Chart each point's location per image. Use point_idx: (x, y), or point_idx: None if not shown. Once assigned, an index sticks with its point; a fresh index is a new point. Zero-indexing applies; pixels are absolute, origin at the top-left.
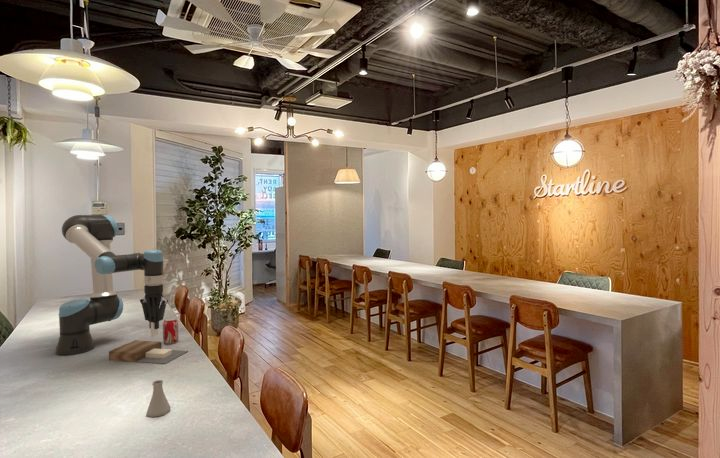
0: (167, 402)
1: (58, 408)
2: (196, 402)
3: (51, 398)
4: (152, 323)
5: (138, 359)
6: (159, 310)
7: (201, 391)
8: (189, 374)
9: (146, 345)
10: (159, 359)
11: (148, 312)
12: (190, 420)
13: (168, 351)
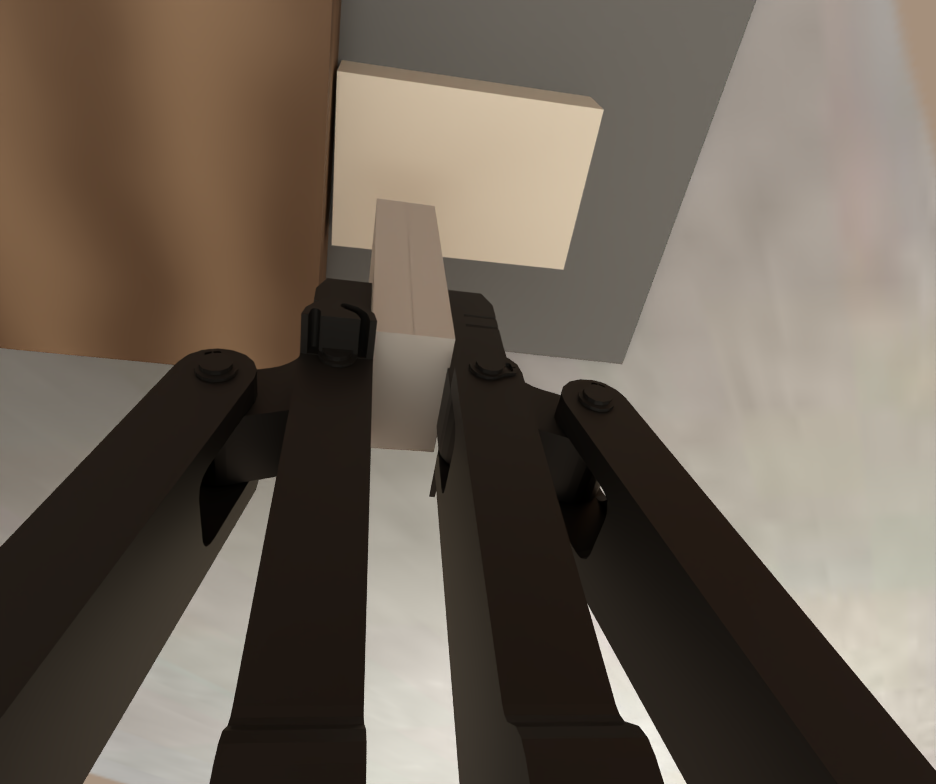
0: None
1: (366, 772)
2: (902, 702)
3: None
4: (406, 435)
5: None
6: (666, 726)
7: (923, 643)
8: (849, 503)
9: (224, 103)
10: (525, 279)
11: (176, 543)
12: None
13: (584, 182)
